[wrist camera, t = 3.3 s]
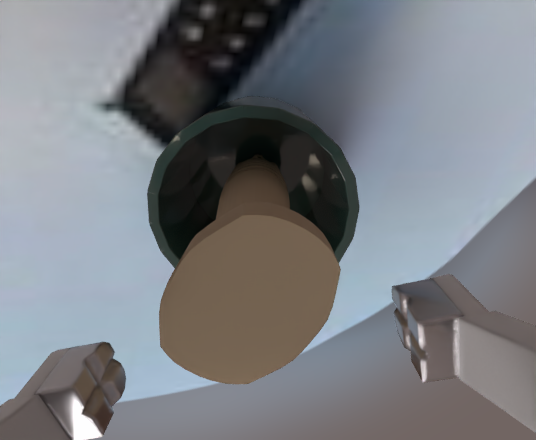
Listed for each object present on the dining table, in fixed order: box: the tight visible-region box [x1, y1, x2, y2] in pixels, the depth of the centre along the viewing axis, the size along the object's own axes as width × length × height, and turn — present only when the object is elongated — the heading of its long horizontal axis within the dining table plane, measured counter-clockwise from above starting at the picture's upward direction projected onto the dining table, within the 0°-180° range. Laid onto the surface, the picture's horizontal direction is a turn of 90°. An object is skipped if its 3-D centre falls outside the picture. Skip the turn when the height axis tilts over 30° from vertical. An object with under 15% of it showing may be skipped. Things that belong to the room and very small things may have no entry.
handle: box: [159, 154, 341, 384], centre depth 17 cm, size 5×6×15 cm
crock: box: [147, 96, 359, 268], centre depth 21 cm, size 11×11×8 cm
